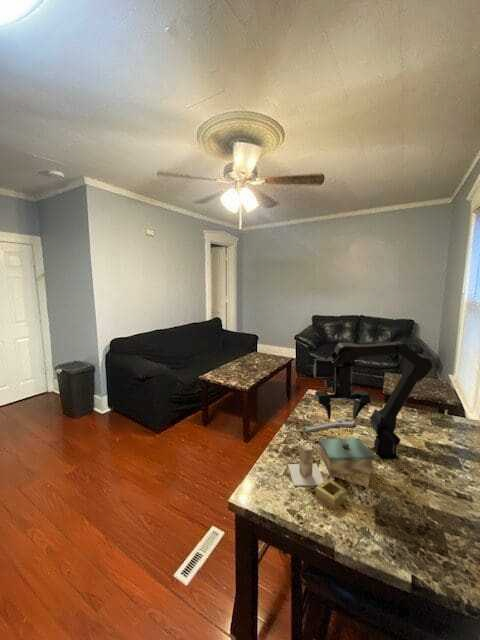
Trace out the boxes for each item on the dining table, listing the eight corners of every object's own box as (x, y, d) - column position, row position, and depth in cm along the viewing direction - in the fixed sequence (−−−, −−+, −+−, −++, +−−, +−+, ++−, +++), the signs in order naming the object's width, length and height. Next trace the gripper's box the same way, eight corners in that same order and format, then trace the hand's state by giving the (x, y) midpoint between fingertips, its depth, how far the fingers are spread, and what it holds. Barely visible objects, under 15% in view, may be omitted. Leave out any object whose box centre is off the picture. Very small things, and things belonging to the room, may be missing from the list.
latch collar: (328, 486, 86) (328, 478, 86) (346, 499, 82) (346, 489, 81) (315, 496, 83) (316, 487, 82) (334, 509, 78) (334, 500, 77)
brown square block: (307, 469, 94) (307, 443, 92) (312, 475, 91) (312, 448, 90) (299, 471, 93) (299, 445, 91) (304, 477, 90) (304, 450, 89)
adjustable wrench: (303, 434, 117) (303, 430, 117) (296, 426, 123) (297, 422, 123) (356, 426, 122) (356, 423, 122) (347, 419, 128) (348, 416, 128)
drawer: (358, 453, 102) (359, 435, 101) (373, 473, 92) (374, 453, 91) (319, 454, 102) (320, 436, 101) (329, 474, 92) (329, 454, 91)
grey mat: (316, 464, 97) (316, 463, 97) (325, 485, 87) (325, 484, 87) (287, 465, 97) (287, 464, 97) (293, 486, 87) (293, 485, 87)
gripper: (358, 370, 108) (356, 408, 110) (311, 371, 108) (310, 409, 110) (373, 380, 97) (370, 422, 99) (320, 381, 97) (318, 423, 99)
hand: (341, 418), depth 102 cm, fingers open, 9 cm apart
